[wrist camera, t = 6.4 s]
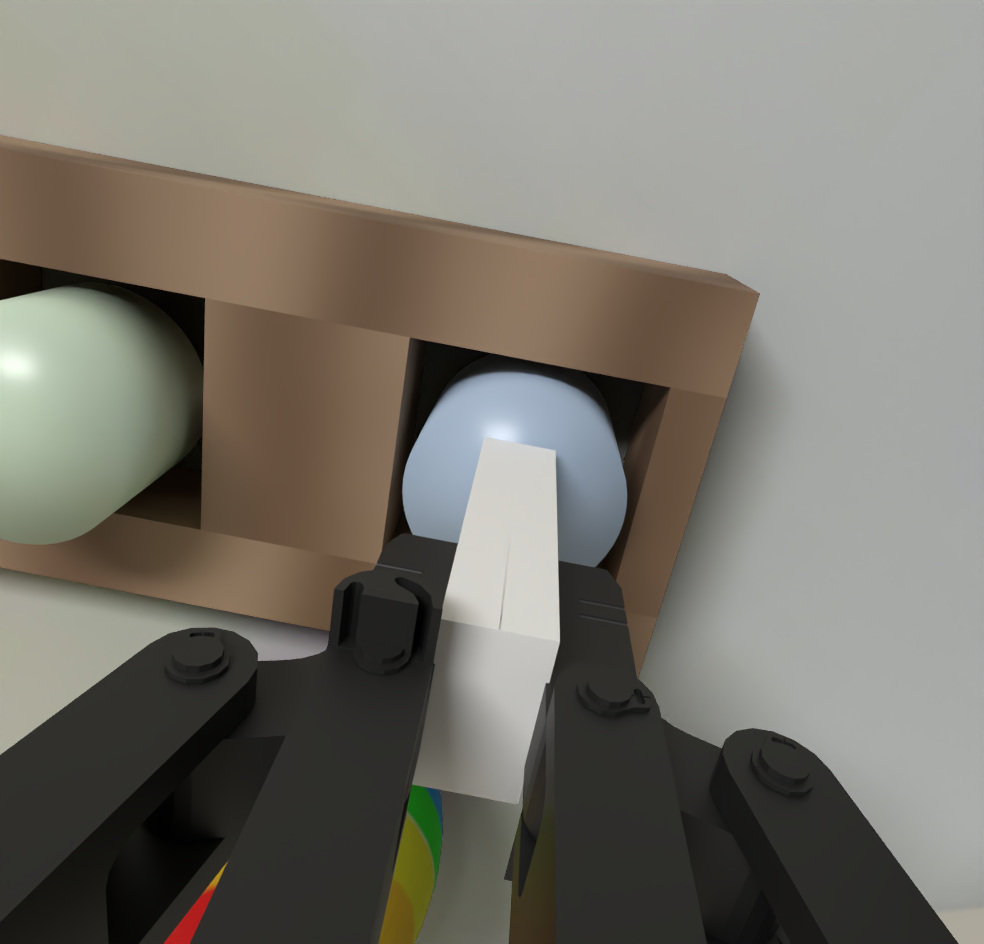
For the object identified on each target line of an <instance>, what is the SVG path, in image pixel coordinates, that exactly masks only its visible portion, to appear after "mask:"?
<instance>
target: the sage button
mask: <svg viewBox="0 0 984 944" xmlns="http://www.w3.org/2000/svg"><path fill="white" fill-rule="evenodd" d="M203 388H204V370H203V367H202V364H201V361H200V359H199V357H198V355H197V352H196V351H195V349H194V347H193V346H192V344H191V342H190V340H189V339H188V338H187V336H186V335H185V334H184V332H183V331H182V330H181V328H180V327H179V326H178V325H177V324H176V323H175V322H174V321H173V320H172V319H171V318H170V317H169V316H168V315H167V314H166V313H165V312H164V311H162V310H161V309H160V308H159V307H157V306H156V305H154V304H153V303H152V302H150V301H149V300H147V299H145V298H143V297H141V296H140V295H138V294H136V293H134V292H131V291H129V290H126V289H124V288H121V287H117V286H113V285H109V284H103V283H95V282H93V283H76V284H70V285H65V286H61V287H57V288H52V289H48V290H43V291H39V292H35V293H30V294H26V295H22V296H17V297H13V298H9V299H4V300H0V539H3V540H7V541H11V542H16V543H23V544H37V545H45V544H54V543H60V542H64V541H68V540H71V539H74V538H76V537H79V536H81V535H83V534H85V533H86V532H88V531H90V530H91V529H93V528H94V527H96V526H97V525H98V524H100V523H101V522H102V521H103V520H105V519H106V518H107V517H109V516H110V515H111V514H112V513H114V512H115V511H116V510H118V509H119V508H120V507H122V506H123V505H124V504H125V503H127V502H128V501H129V500H131V499H132V498H133V497H134V496H136V495H137V494H138V493H140V492H141V491H142V490H143V489H145V488H146V487H147V486H149V485H150V484H151V483H153V482H154V481H155V480H156V479H158V478H159V477H160V476H162V475H163V474H164V473H165V472H167V471H168V470H169V469H171V468H172V467H173V466H175V465H176V464H177V463H178V462H180V461H181V460H182V459H183V458H184V457H186V456H187V455H188V454H189V453H190V451H191V450H192V449H193V448H194V447H195V445H196V444H197V442H198V440H199V439H200V437H201V435H202V432H203Z"/></svg>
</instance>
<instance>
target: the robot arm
mask: <svg viewBox="0 0 984 944" xmlns="http://www.w3.org/2000/svg"><path fill="white" fill-rule="evenodd" d="M624 608H625V605H624V600H623V594H622V588H621V587H620V586H619V584H618V583H617V582H616V581H615V579H614V578H613V577H612V576H611V574H610V573H609V572H608V571H607V570H606V569H600V568H595V567H590V566H585V565H579V564H574V563H569V562H564V561H558V535H557V492H556V450H551V449H546V448H541V447H535V446H530V445H525V444H520V443H514V442H509V441H504V440H499V439H494V438H488V437H484V440H483V444H482V448H481V452H480V456H479V460H478V464H477V468H476V472H475V477H474V481H473V485H472V489H471V493H470V497H469V501H468V505H467V509H466V513H465V517H464V521H463V525H462V529H461V533H460V538H459V542H458V543H453V542H448V541H443V540H437V539H432V538H427V537H422V536H417V535H411V534H406V533H402V534H401V535H399V536H398V537H396V538H394V539H393V540H391V541H390V542H388V543H387V544H385V545H384V547H383V550H382V552H381V554H380V556H379V559H378V561H377V565H376V566H375V568H374V570H370V571H362V572H358V573H356V574H353V575H351V576H349V577H346V578H344V579H343V580H342V581H341V582H340V583H339V584H338V585H337V586H336V587H335V588H334V594H333V604H332V613H331V623H330V632H329V642H328V646H327V649H326V650H325V651H323V652H321V653H319V654H317V655H313V656H309V657H306V658H301V659H292V660H278V661H258V653H257V651H256V650H255V648H254V647H253V645H252V644H251V642H250V641H249V640H247V639H245V638H244V637H242V636H240V635H238V634H237V633H235V632H232V631H227V630H223V629H218V628H189V629H185V630H181V631H177V632H173V633H169V634H167V635H165V636H164V637H162V638H160V639H158V640H156V641H154V642H152V643H150V644H149V645H148V646H146V647H145V648H144V649H142V650H141V651H140V652H138V653H137V654H136V655H134V656H133V657H132V658H130V659H129V660H127V661H126V662H125V663H123V664H122V665H121V666H119V667H118V668H117V669H115V670H114V671H113V672H111V673H110V674H109V675H107V676H106V677H105V678H103V679H102V680H101V681H99V682H98V683H97V684H95V685H94V686H92V687H91V688H90V689H88V690H87V691H86V692H84V693H83V694H82V695H80V696H79V697H78V698H76V699H75V700H74V701H72V702H71V703H70V704H68V705H67V706H66V707H64V708H63V709H62V710H60V711H59V712H58V713H56V714H55V715H53V716H52V717H51V718H49V719H48V720H47V721H45V722H44V723H43V724H41V725H40V726H39V727H37V728H36V729H35V730H33V731H32V732H31V733H29V734H28V735H27V736H25V737H24V738H23V739H21V740H20V741H18V742H17V743H16V744H14V745H13V746H12V747H10V748H9V749H8V750H6V751H5V752H4V753H2V754H1V755H0V944H164V942H165V941H166V940H167V939H168V937H169V936H170V935H171V933H172V932H173V931H174V930H175V928H176V927H177V926H178V924H179V923H180V922H181V921H182V919H183V918H184V917H185V915H186V914H187V913H188V912H189V910H190V909H191V908H192V906H193V905H194V904H195V903H196V901H197V900H198V899H199V897H200V896H201V895H202V894H203V892H204V891H205V890H206V888H207V887H208V886H209V885H210V883H211V882H212V881H213V879H214V878H215V877H216V876H217V874H218V873H219V872H220V870H221V869H222V868H223V867H224V865H225V864H226V863H227V864H226V866H225V868H224V870H223V873H222V875H221V877H220V879H219V881H218V883H217V886H216V888H215V890H214V892H213V894H212V896H211V899H210V901H209V903H208V905H207V907H206V909H205V911H204V914H203V916H202V918H201V920H200V922H199V924H198V927H197V929H196V931H195V933H194V935H193V937H192V939H191V942H190V944H378V943H379V939H380V934H381V930H382V925H383V920H384V916H385V911H386V907H387V902H388V898H389V893H390V888H391V884H392V879H393V875H394V870H395V866H396V861H397V857H398V852H399V847H400V843H401V838H402V834H403V829H404V825H405V820H406V815H407V809H408V804H409V798H410V792H411V787H412V784H413V785H418V786H423V787H428V788H434V789H439V790H444V791H449V792H454V793H460V794H465V795H470V796H475V797H480V798H486V799H491V800H496V801H501V802H506V803H512V804H517V805H518V802H519V799H520V795H521V791H522V787H523V809H522V813H521V816H520V820H519V824H518V828H517V832H516V835H515V839H514V843H513V847H512V851H511V854H510V858H509V862H508V866H507V870H506V874H505V877H504V879H505V880H510V881H512V897H511V916H510V934H509V944H958V942H957V941H956V940H955V938H954V937H953V936H952V934H951V933H950V932H949V930H948V929H947V928H946V926H945V925H944V923H943V922H942V921H941V920H940V918H939V917H938V915H937V914H936V913H935V911H934V910H933V909H932V907H931V906H930V904H929V903H928V902H927V900H926V899H925V898H924V896H923V895H922V894H921V892H920V891H919V890H918V888H917V887H916V886H915V884H914V883H913V881H912V880H911V879H910V877H909V876H908V875H907V873H906V872H905V871H904V869H903V868H902V867H901V865H900V864H899V863H898V861H897V860H896V858H895V857H894V856H893V854H892V853H891V852H890V850H889V849H888V848H887V846H886V845H885V844H884V842H883V841H882V839H881V838H880V837H879V835H878V834H877V833H876V831H875V830H874V829H873V827H872V826H871V825H870V823H869V822H868V821H867V819H866V818H865V816H864V815H863V814H862V812H861V811H860V810H859V808H858V807H857V806H856V804H855V803H854V802H853V800H852V799H851V798H850V796H849V795H848V793H847V792H846V791H845V789H844V788H843V787H842V785H841V784H840V783H839V781H838V780H837V779H836V777H835V776H834V774H833V773H832V772H831V771H830V769H829V768H828V767H827V766H826V765H825V764H824V763H823V762H822V761H821V760H820V759H819V758H818V757H817V756H816V755H815V754H814V753H812V752H811V751H809V750H808V749H806V748H805V747H803V746H802V745H800V744H799V743H798V742H796V741H794V740H792V739H790V738H787V737H785V736H782V735H780V734H778V733H775V732H772V731H766V730H760V729H754V728H752V729H746V730H739V731H736V732H734V733H733V734H732V735H731V736H729V737H728V738H727V739H726V740H725V742H724V745H723V747H722V748H719V747H717V746H715V745H712V744H710V743H708V742H705V741H703V740H701V739H698V738H696V737H694V736H691V735H689V734H687V733H685V732H683V731H681V730H679V729H677V728H676V727H674V726H672V725H671V724H669V723H668V722H667V721H665V720H664V719H662V718H661V714H660V709H659V706H658V704H657V702H656V700H655V698H654V695H653V693H652V692H651V691H650V690H649V689H648V688H647V687H646V686H645V685H644V684H643V683H642V682H641V681H640V680H638V679H637V674H636V668H635V663H634V657H633V651H632V645H631V640H630V634H629V628H628V626H627V617H626V611H624ZM523 783H524V785H523ZM227 861H228V862H227Z"/></svg>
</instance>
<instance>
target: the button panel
mask: <svg viewBox="0 0 984 944" xmlns="http://www.w3.org/2000/svg"><path fill="white" fill-rule="evenodd" d="M40 266H41V267H46V268H51V269H56V270H62V271H67V272H72V273H77V274H82V275H88V276H93V277H98V278H103V279H108V280H114V281H119V282H124V283H129V284H134V285H140V286H145V287H150V288H155V289H160V290H166V291H171V292H176V293H181V294H187V295H192V296H197V297H202V298H205V334H204V388H203V441H202V472H199V471H194V470H189V469H183V468H178V467H172V468H171V469H169V470H168V471H167V472H165V473H164V474H163V475H162V476H160V477H159V478H158V479H156V480H155V481H154V482H153V483H151V484H150V485H149V486H147V487H146V488H145V489H143V490H142V491H141V492H140V493H138V494H137V495H136V496H134V497H133V498H132V499H131V500H129V501H128V502H127V503H125V504H124V505H123V506H122V507H120V508H119V509H118V510H116V511H115V512H114V513H112V514H111V515H110V516H109V517H107V518H106V519H105V520H103V521H102V522H101V523H100V524H98V525H97V526H96V527H94V528H93V529H91V530H90V531H88V532H86V533H85V534H83V535H81V536H79V537H76V538H74V539H71V540H68V541H64V542H60V543H54V544H45V545H37V544H23V543H16V542H11V541H7V540H3V539H0V567H1V568H6V569H11V570H16V571H21V572H27V573H32V574H37V575H42V576H47V577H52V578H58V579H63V580H68V581H73V582H78V583H83V584H89V585H94V586H99V587H104V588H109V589H115V590H120V591H125V592H130V593H135V594H140V595H146V596H151V597H156V598H161V599H166V600H171V601H177V602H182V603H187V604H192V605H197V606H202V607H208V608H213V609H218V610H223V611H228V612H233V613H239V614H244V615H249V616H254V617H259V618H264V619H270V620H275V621H280V622H285V623H290V624H295V625H301V626H306V627H311V628H316V629H321V630H326V631H330V623H331V613H332V604H333V594H334V588H335V587H336V586H337V585H338V584H339V583H340V582H341V581H342V580H343V579H344V578H346V577H349V576H351V575H353V574H356V573H358V572H362V571H370V570H374V568H375V566H376V565H377V561H378V559H379V556H380V554H381V552H382V550H383V547H384V545H385V544H387V543H388V542H390V541H391V540H393V539H394V538H396V537H398V536H399V535H401V534H402V533H406V534H411V535H413V534H412V532H411V530H410V527H409V524H408V522H407V519H406V515H405V511H403V510H404V506H403V494H402V489H403V477H404V472H405V467H406V464H407V461H408V458H409V456H410V453H411V451H412V447H413V440H414V433H415V426H416V419H417V412H418V405H419V398H420V391H421V384H422V377H423V369H424V362H425V355H426V348H427V341H431V342H436V343H442V344H447V345H452V346H457V347H462V348H468V349H473V350H478V351H483V352H488V353H494V354H499V355H504V356H509V357H514V358H520V359H525V360H530V361H535V362H540V363H546V364H551V365H556V366H561V367H567V368H572V369H577V370H582V371H587V372H593V373H598V374H603V375H608V376H613V377H619V378H624V379H629V380H634V381H639V382H645V384H644V388H643V392H642V395H641V399H640V403H639V407H638V410H637V414H636V418H635V422H634V425H633V429H632V433H631V436H630V440H629V444H628V448H627V451H626V455H625V459H624V463H623V470H624V474H625V478H626V486H627V508H626V513H625V518H624V522H623V525H622V527H621V530H620V533H619V535H618V537H617V539H616V541H615V543H614V545H613V546H612V548H611V549H610V550H609V552H608V553H607V555H606V556H605V557H604V558H603V559H602V560H601V561H600V562H599V564H598V565H597V566H596V567H595V568H600V569H606V570H607V571H608V572H609V573H610V574H611V576H612V577H613V578H614V579H615V581H616V582H617V583H618V584H619V586H620V587H621V588H622V594H623V600H624V605H625V608H624V611H626V617H627V626H628V628H629V634H630V640H631V645H632V651H633V657H634V663H635V668H636V674H637V679H638V677H639V674H640V670H641V667H642V664H643V661H644V658H645V655H646V651H647V648H648V645H649V642H650V639H651V636H652V633H653V629H654V626H655V623H656V620H657V617H658V614H659V610H660V607H661V604H662V601H663V598H664V595H665V592H666V588H667V585H668V582H669V579H670V576H671V573H672V569H673V566H674V563H675V560H676V557H677V554H678V551H679V547H680V544H681V541H682V538H683V535H684V532H685V528H686V525H687V522H688V519H689V516H690V513H691V510H692V506H693V503H694V500H695V497H696V494H697V491H698V487H699V484H700V481H701V478H702V475H703V472H704V469H705V465H706V462H707V459H708V456H709V453H710V450H711V446H712V443H713V440H714V437H715V434H716V431H717V427H718V424H719V421H720V418H721V415H722V412H723V409H724V405H725V402H726V399H727V396H728V393H729V390H730V386H731V383H732V380H733V377H734V374H735V371H736V368H737V364H738V361H739V358H740V355H741V352H742V349H743V345H744V342H745V339H746V336H747V333H748V330H749V327H750V323H751V320H752V317H753V314H754V311H755V308H756V304H757V301H758V298H759V295H760V293H758V292H756V291H754V290H753V289H751V288H749V287H747V286H746V285H744V284H742V283H740V282H739V281H737V280H735V279H733V278H732V277H730V276H728V275H727V274H722V273H717V272H711V271H706V270H701V269H696V268H691V267H685V266H680V265H675V264H670V263H665V262H659V261H654V260H649V259H644V258H638V257H633V256H628V255H623V254H618V253H612V252H607V251H602V250H597V249H591V248H586V247H581V246H576V245H571V244H565V243H560V242H555V241H550V240H544V239H539V238H534V237H529V236H524V235H518V234H513V233H508V232H503V231H497V230H492V229H487V228H482V227H477V226H471V225H466V224H461V223H456V222H450V221H445V220H440V219H435V218H430V217H424V216H419V215H414V214H409V213H404V212H398V211H393V210H388V209H383V208H377V207H372V206H367V205H362V204H357V203H351V202H346V201H341V200H336V199H330V198H325V197H320V196H315V195H310V194H304V193H299V192H294V191H289V190H283V189H278V188H273V187H268V186H263V185H257V184H252V183H247V182H242V181H236V180H231V179H226V178H221V177H216V176H210V175H205V174H200V173H195V172H189V171H184V170H179V169H174V168H169V167H163V166H158V165H153V164H148V163H143V162H137V161H132V160H127V159H122V158H116V157H111V156H106V155H101V154H96V153H90V152H85V151H80V150H75V149H69V148H64V147H59V146H54V145H49V144H43V143H38V142H33V141H28V140H22V139H17V138H12V137H7V136H2V135H0V300H4V299H9V298H13V297H17V296H22V295H26V294H30V293H35V292H39V291H42V283H41V268H40Z"/></svg>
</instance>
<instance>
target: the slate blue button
mask: <svg viewBox="0 0 984 944" xmlns="http://www.w3.org/2000/svg"><path fill="white" fill-rule="evenodd" d="M484 437H488V438H494V439H499V440H504V441H509V442H514V443H520V444H525V445H530V446H535V447H541V448H546V449H551V450H556V492H557V535H558V561H564V562H569V563H574V564H579V565H585V566H590V567H596V566H597V565H598V564H599V562H600V561H601V560H602V559H603V558H604V557H605V556H606V555H607V553H608V552H609V550H610V549H611V548H612V546H613V545H614V543H615V541H616V539H617V537H618V535H619V533H620V530H621V527H622V525H623V522H624V518H625V513H626V508H627V486H626V478H625V474H624V470H623V466H622V462H621V458H620V454H619V450H618V445H617V441H616V437H615V433H614V429H613V425H612V421H611V417H610V412H609V410H608V407H607V405H606V402H605V400H604V399H603V397H602V395H601V393H600V391H599V390H598V389H597V387H596V386H595V385H594V384H593V382H592V381H591V380H590V379H589V378H588V377H587V376H586V375H585V374H584V373H583V372H581V371H580V370H577V369H572V368H567V367H561V366H556V365H551V364H546V363H540V362H535V361H530V360H525V359H520V358H514V357H509V356H504V355H499V354H490V355H487V356H485V357H482V358H480V359H478V360H476V361H474V362H472V363H471V364H469V365H467V366H466V367H465V368H463V369H462V370H461V371H459V372H458V373H457V374H456V375H455V376H454V377H453V378H452V379H451V380H450V381H449V382H448V384H447V385H446V387H445V388H444V389H443V391H442V392H441V394H440V396H439V398H438V400H437V401H436V403H435V405H434V407H433V409H432V411H431V413H430V415H429V417H428V419H427V421H426V423H425V425H424V427H423V429H422V431H421V433H420V435H419V437H418V439H417V441H416V443H415V445H414V447H413V449H412V451H411V453H410V456H409V458H408V461H407V464H406V467H405V472H404V477H403V489H402V494H403V506H404V510H405V515H406V519H407V522H408V524H409V527H410V530H411V532H412V534H413V535H417V536H422V537H427V538H432V539H437V540H443V541H448V542H453V543H458V542H459V538H460V533H461V529H462V525H463V521H464V517H465V513H466V509H467V505H468V501H469V497H470V493H471V489H472V485H473V481H474V477H475V472H476V468H477V464H478V460H479V456H480V452H481V448H482V444H483V440H484Z"/></svg>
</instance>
